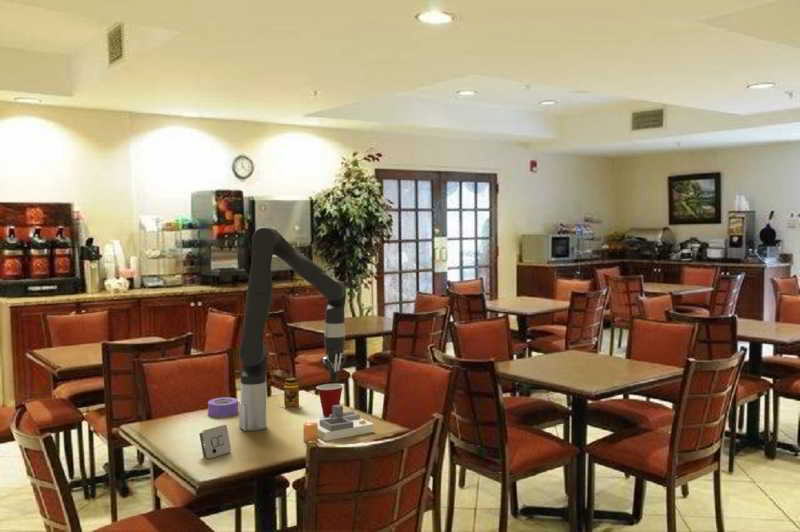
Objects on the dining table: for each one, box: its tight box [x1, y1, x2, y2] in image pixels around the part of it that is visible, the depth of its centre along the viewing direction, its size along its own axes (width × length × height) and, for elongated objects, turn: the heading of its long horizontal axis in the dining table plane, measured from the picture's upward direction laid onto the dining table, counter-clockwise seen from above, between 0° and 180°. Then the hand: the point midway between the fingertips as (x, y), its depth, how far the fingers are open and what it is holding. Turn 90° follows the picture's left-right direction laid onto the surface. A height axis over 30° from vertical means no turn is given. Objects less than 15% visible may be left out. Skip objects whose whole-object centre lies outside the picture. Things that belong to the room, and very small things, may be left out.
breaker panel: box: [304, 410, 375, 442], centre depth 251 cm, size 20×16×5 cm
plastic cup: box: [316, 383, 344, 418], centre depth 272 cm, size 11×11×12 cm
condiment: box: [278, 377, 303, 411], centre depth 285 cm, size 7×8×12 cm
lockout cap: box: [302, 421, 319, 444], centre depth 239 cm, size 5×5×6 cm
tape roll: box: [207, 396, 239, 418], centre depth 275 cm, size 12×12×5 cm
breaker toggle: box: [332, 404, 344, 418], centre depth 255 cm, size 3×3×5 cm
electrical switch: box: [198, 424, 232, 460], centre depth 225 cm, size 9×5×9 cm, turn 141°
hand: (334, 381), depth 252 cm, fingers closed
